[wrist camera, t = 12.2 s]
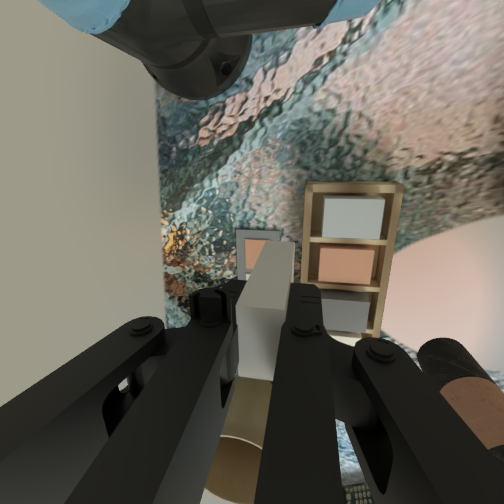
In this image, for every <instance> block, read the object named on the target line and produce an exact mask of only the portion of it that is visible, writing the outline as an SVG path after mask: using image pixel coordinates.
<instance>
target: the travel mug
mask: <svg viewBox="0 0 504 504" xmlns="http://www.w3.org/2000/svg"><path fill="white" fill-rule="evenodd" d="M417 358H418V362H419V364H420V367H421V369H422V371H423V373H424V374H425V375H426V376H427V378H428V379H429V380H430V381H431V382H432V384H433V385H434V386H435V387H436V388H437V390H438V391H439V392H440V393H441V394H442V396H443V397H444V398H445V399H446V400H447V401H448V403H449V404H450V405H451V406H452V407H453V409H454V410H455V411H456V412H457V413H458V415H459V416H460V417H461V418H462V419H463V421H464V422H465V423H466V424H467V425H468V426H469V428H470V429H471V430H472V431H473V432H474V434H475V435H476V436H477V437H478V438H479V440H480V441H481V442H482V443H483V444H484V446H485V447H486V448H487V449H488V450H489V451H490V453H491V454H492V455H493V456H494V457H495V459H496V460H497V461H498V462H499V463H500V465H501V466H502V467H503V468H504V393H503V392H502V391H501V389H500V388H499V387H498V386H497V385H496V383H495V382H494V381H493V380H492V379H491V378H490V376H489V375H488V374H487V373H486V372H485V371H484V369H483V368H482V367H481V366H480V365H479V364H478V363H477V361H476V360H475V359H474V358H473V357H472V355H471V354H470V353H469V352H468V351H467V350H466V349H465V348H464V346H463V345H462V344H460V343H459V342H458V341H456V340H453V339H450V338H436V339H432V340H430V341H428V342H426V343H425V344H423V345H422V346H421V348H420V349H419V351H418V355H417Z"/></svg>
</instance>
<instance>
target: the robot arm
mask: <svg viewBox="0 0 504 504" xmlns="http://www.w3.org/2000/svg"><path fill="white" fill-rule="evenodd" d="M38 1H39V2H40V3H41V4H43V5H44V6H45V7H46V8H48V9H49V10H51V11H52V12H54V13H55V14H56V15H58V16H59V17H61V18H62V19H64V20H65V21H66V22H67V23H68V24H70V25H71V26H72V27H73V28H76V29H78V30H79V31H81V32H85V33H89V34H91V35H93V36H95V37H97V38H99V39H101V40H102V41H104V42H106V43H108V44H110V45H112V46H114V47H116V48H118V49H120V50H122V51H124V52H126V53H127V54H129V55H131V56H133V57H135V58H137V59H139V60H141V62H142V63H143V64H144V66H145V67H146V69H147V71H148V72H149V74H150V75H151V76H152V77H153V79H154V80H155V81H156V82H157V83H158V84H160V85H161V86H162V87H163V88H165V89H166V90H168V91H169V92H171V93H173V94H175V95H178V96H180V97H183V98H186V99H190V100H206V99H210V98H213V97H216V96H218V95H220V94H222V93H223V92H225V91H226V90H227V89H228V88H230V87H231V86H232V85H233V84H234V82H235V81H236V80H237V79H238V77H239V76H240V74H241V73H242V71H243V69H244V67H245V65H246V63H247V60H248V57H249V54H250V50H251V45H252V35H253V34H255V33H263V32H270V31H278V30H285V29H293V28H300V27H307V26H313V28H314V29H318V28H323V27H324V26H326V25H327V24H329V23H334V22H339V21H345V20H350V19H355V18H359V17H361V16H364V15H366V14H367V13H369V12H370V11H371V10H372V9H373V8H374V7H375V6H376V5H377V4H378V3H379V2H380V1H381V0H38ZM294 253H295V242H281V241H266V242H265V244H264V246H263V248H262V250H261V252H260V255H259V257H258V259H257V261H256V263H255V265H254V267H253V270H252V272H251V274H250V276H249V278H248V280H234V279H232V280H230V281H228V282H227V283H225V284H224V285H223V287H222V288H204V289H200V290H197V291H195V292H193V293H192V294H190V295H189V302H190V312H191V320H190V321H189V323H188V324H187V326H185V327H180V328H170V329H165V327H164V323H163V322H162V320H161V319H159V318H157V317H151V316H146V317H139V318H137V319H133V320H131V321H129V322H127V323H125V324H124V325H122V326H121V327H119V328H118V329H116V330H115V331H113V332H112V333H110V334H109V335H107V336H106V337H104V338H103V339H101V340H100V341H98V342H97V343H95V344H94V345H92V346H91V347H89V348H88V349H86V350H85V351H84V352H82V353H80V354H79V355H77V356H76V357H74V358H73V359H71V360H70V361H68V362H67V363H66V364H64V365H62V366H61V367H59V368H58V369H57V370H55V371H53V372H52V373H50V374H49V375H48V376H46V377H44V378H43V379H41V380H40V381H39V382H37V383H36V384H34V385H33V386H31V387H30V388H28V389H27V390H25V391H24V392H22V393H21V394H19V395H18V396H16V397H15V398H13V399H12V400H10V401H9V402H7V403H6V404H4V405H3V406H1V407H0V504H200V501H201V498H202V494H203V491H204V488H205V484H206V481H207V478H208V475H209V471H210V468H211V465H212V462H213V458H214V455H215V452H216V448H217V445H218V442H219V439H220V435H221V432H222V429H223V425H224V422H225V419H226V416H227V412H228V409H229V406H230V403H231V399H232V396H233V393H234V389H235V372H236V369H237V366H238V376H240V377H248V378H255V379H263V380H270V381H273V384H272V390H271V397H270V403H269V409H268V416H267V422H266V428H265V435H264V441H263V447H262V454H261V460H260V467H259V473H258V479H257V486H256V492H255V498H254V504H344V503H343V493H342V483H341V472H340V462H339V452H338V441H337V431H336V421H335V419H337V420H340V421H342V422H344V423H345V428H346V431H347V434H348V436H349V439H350V441H351V444H352V446H353V449H354V452H355V454H356V457H357V459H358V462H359V464H360V467H361V469H362V472H363V475H364V477H365V480H366V482H367V485H368V487H369V490H370V492H371V495H372V498H373V500H374V503H375V504H504V468H503V467H502V466H501V465H500V463H499V462H498V461H497V460H496V459H495V457H494V456H493V455H492V454H491V453H490V451H489V450H488V449H487V448H486V447H485V446H484V444H483V443H482V442H481V441H480V440H479V438H478V437H477V436H476V435H475V434H474V432H473V431H472V430H471V429H470V428H469V426H468V425H467V424H466V423H465V422H464V421H463V419H462V418H461V417H460V416H459V415H458V413H457V412H456V411H455V410H454V409H453V407H452V406H451V405H450V404H449V403H448V401H447V400H446V399H445V398H444V397H443V396H442V394H441V393H440V392H439V391H438V390H437V388H436V387H435V386H434V385H433V384H432V382H431V381H430V380H429V379H428V378H427V376H426V375H425V374H424V373H423V372H422V371H421V369H420V368H419V367H418V366H417V365H416V363H415V362H414V361H413V360H412V359H411V357H410V356H409V355H408V354H407V353H406V352H405V351H404V350H403V349H402V348H401V347H400V346H398V345H397V344H395V343H393V342H391V341H389V340H385V339H382V338H375V337H367V338H362V339H360V340H359V341H357V342H356V343H355V346H351V345H347V344H344V343H342V342H339V341H337V340H335V339H334V338H332V337H331V336H330V335H329V334H328V333H327V331H326V329H325V326H324V323H323V312H322V300H321V290H320V289H319V288H318V287H317V286H316V285H315V284H305V283H293V279H294ZM125 378H127V382H128V385H127V386H126V387H125V388H124V389H122V390H121V391H119V388H118V385H119V384H120V383H121V382H122V381H123V380H124V379H125Z"/></svg>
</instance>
